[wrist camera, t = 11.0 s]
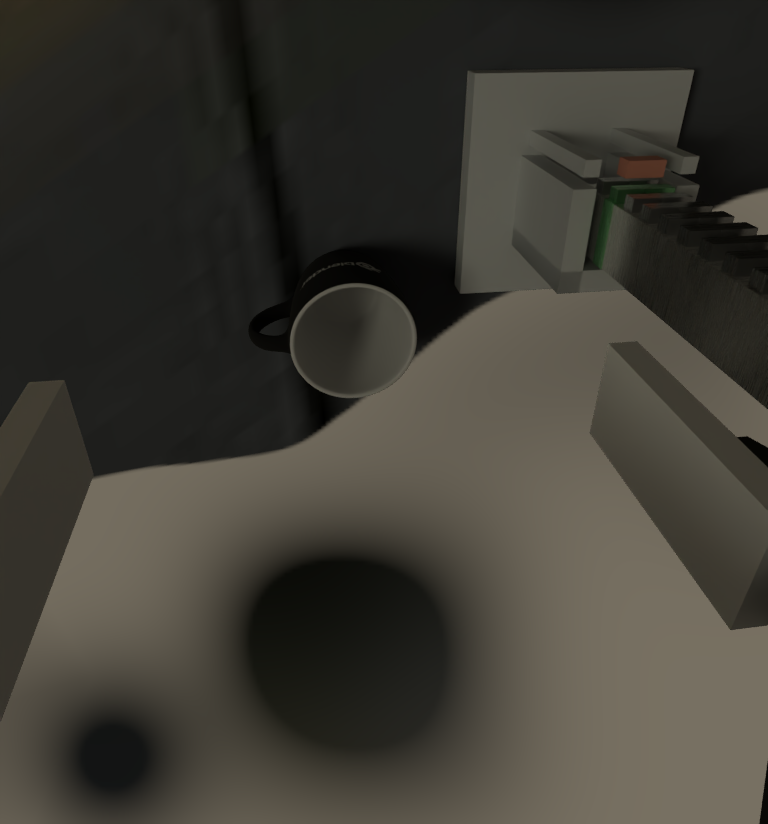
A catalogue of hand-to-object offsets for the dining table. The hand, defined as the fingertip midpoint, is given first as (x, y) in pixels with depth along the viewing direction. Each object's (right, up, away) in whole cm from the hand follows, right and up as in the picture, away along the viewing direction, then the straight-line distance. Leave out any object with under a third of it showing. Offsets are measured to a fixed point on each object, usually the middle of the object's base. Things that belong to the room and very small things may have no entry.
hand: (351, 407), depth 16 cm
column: (+16, +14, +28) cm, 35 cm away
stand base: (+15, +18, +35) cm, 42 cm away
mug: (-4, +10, +37) cm, 39 cm away
